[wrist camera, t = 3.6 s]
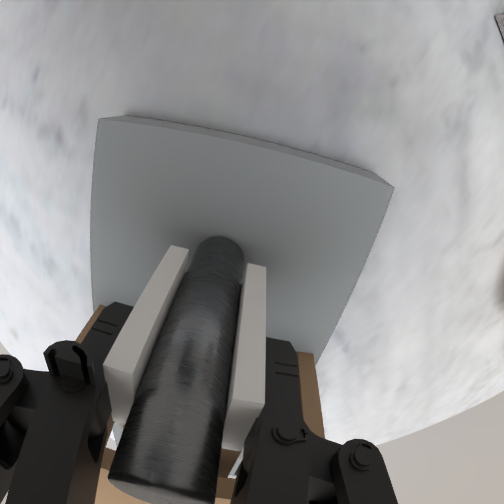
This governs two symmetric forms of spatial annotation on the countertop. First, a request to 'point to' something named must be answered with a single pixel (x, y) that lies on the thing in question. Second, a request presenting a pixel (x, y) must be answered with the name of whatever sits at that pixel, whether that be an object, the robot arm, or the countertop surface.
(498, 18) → the coffee box
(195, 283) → the grey handled tray
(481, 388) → the countertop surface
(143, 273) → the tunnel deck
